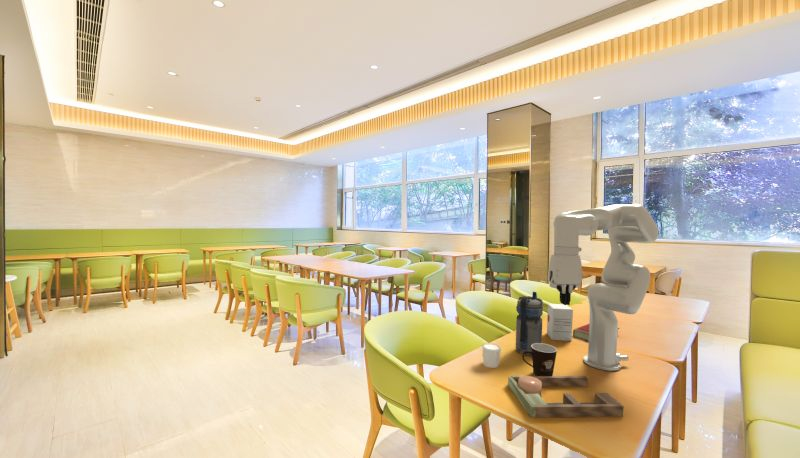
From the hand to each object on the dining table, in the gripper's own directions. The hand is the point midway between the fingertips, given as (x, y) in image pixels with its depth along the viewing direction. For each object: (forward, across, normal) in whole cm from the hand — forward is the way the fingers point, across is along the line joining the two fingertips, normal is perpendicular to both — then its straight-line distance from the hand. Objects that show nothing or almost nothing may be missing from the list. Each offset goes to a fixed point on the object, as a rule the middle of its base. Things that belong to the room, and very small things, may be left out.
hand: (564, 303), depth 118 cm
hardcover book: (+30, -41, -43) cm, 67 cm away
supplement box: (+29, -21, -41) cm, 55 cm away
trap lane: (+27, +8, +12) cm, 30 cm away
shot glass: (+27, +21, -14) cm, 37 cm away
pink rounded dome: (+27, +16, +8) cm, 32 cm away
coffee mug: (+28, +7, -5) cm, 29 cm away
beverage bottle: (+28, +2, -24) cm, 37 cm away
